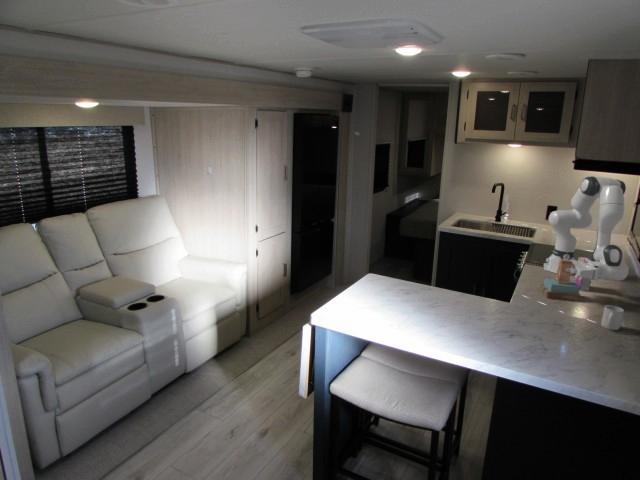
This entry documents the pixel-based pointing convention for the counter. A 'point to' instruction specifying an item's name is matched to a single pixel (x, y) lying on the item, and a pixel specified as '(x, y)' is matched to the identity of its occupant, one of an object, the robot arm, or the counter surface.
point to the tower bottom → (560, 295)
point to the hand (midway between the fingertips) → (563, 266)
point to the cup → (612, 317)
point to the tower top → (561, 286)
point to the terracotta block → (563, 271)
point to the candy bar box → (583, 282)
